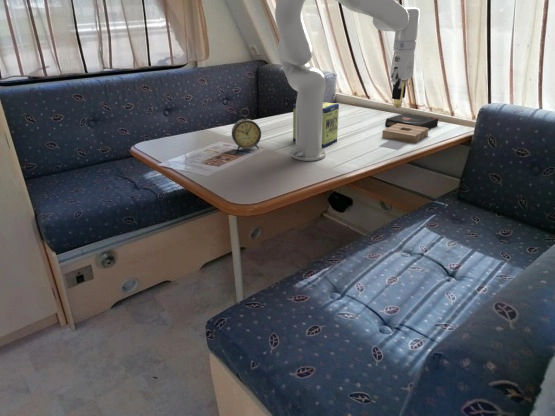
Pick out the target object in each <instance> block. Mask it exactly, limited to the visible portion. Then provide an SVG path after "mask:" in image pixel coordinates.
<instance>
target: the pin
mask: <svg viewBox="0 0 555 416" xmlns="http://www.w3.org/2000/svg"><path fill="white" fill-rule="evenodd" d="M397 79H399V78H397ZM397 82H398V83H399V81H397ZM404 82H405V80H402V84H401V89H402V91H401V99H400V100H397V99H393V103H392V104H393V105H392V108H394V109H395V108H396V109H401V108H402V104H403V99H404V98H403V90H404Z"/></svg>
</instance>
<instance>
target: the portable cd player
mask: <svg viewBox="0 0 555 416" xmlns="http://www.w3.org/2000/svg"><path fill="white" fill-rule="evenodd" d="M384 122H385V123H384V127H386V128H389V127H391V126H393V125H395V124H397V123H399V124H405V125H412V126H418V127H425V128H429V130H431V129H433V128H436V127H438V123H439V118H437V117H432V116H428V115H427V116H426V115H421V114H416V113H409V112H404V113H401V114H398V115H394V116H392V117H388V118H386V119H385V121H384Z"/></svg>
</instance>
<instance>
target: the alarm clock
mask: <svg viewBox="0 0 555 416" xmlns="http://www.w3.org/2000/svg"><path fill="white" fill-rule="evenodd" d="M243 110H247V115H243V114H242V111H243ZM239 113H240V116H242V117H243V119H239V120H238V121H236V122H235V123H234V125H233V126H232V129H231V137H232V138H231V139H232V140H233V141H234V142H235V143H234V144H235V145H237V148H236V150H235V151H236V152H238V151H239V150H240V148H241V149H244V150H247V149H252V148H254V147H255V148H257V149H258V150H259V149H260V147H259V146H258V144H259V142H260V140H261V139H262V138H261V137H262V131H261V128H260V126H259V125H258V123H257V122H255V121H254V120H252V119H249V118H247V117H248V116H249V115H250V111H249V109H248V108H246V107H245V108H242V109H241V110H240V111H239Z"/></svg>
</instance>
